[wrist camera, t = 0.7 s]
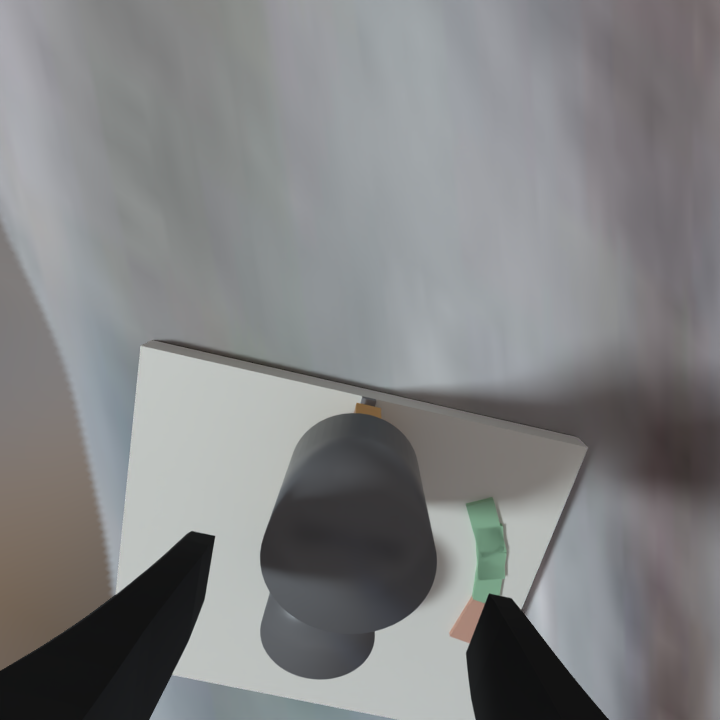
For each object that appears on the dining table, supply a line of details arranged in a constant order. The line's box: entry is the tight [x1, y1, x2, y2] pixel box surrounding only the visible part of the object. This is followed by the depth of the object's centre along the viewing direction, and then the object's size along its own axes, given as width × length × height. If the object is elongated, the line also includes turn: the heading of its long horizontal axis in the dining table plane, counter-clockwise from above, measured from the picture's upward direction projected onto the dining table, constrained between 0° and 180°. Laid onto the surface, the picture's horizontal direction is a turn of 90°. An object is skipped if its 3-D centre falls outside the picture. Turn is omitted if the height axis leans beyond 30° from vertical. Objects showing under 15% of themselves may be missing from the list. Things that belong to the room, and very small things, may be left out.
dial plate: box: [116, 340, 588, 720], centre depth 21 cm, size 17×19×1 cm
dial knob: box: [260, 403, 437, 680], centre depth 16 cm, size 11×5×6 cm, turn 167°
